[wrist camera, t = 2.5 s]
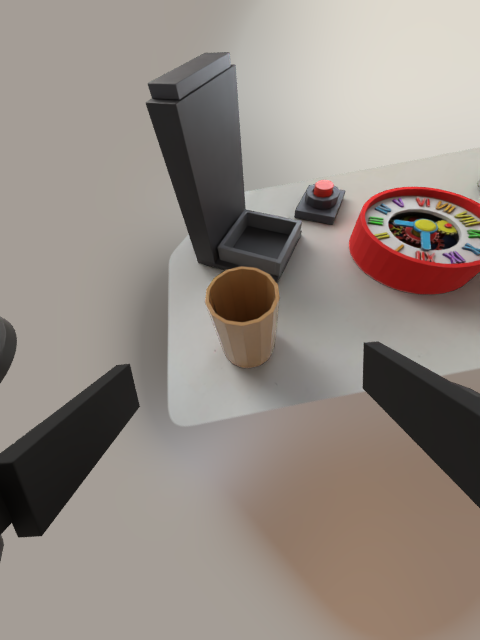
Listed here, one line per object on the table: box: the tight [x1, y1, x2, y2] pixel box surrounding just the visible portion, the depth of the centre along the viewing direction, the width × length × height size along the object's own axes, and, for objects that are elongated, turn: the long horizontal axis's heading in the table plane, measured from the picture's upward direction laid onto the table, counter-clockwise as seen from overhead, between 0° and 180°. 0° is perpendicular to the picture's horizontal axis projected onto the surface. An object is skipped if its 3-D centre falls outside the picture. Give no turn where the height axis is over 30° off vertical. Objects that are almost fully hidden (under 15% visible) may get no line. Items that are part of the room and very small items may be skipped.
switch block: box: [295, 184, 345, 225], centre depth 48 cm, size 10×8×4 cm
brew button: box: [314, 180, 334, 198], centre depth 46 cm, size 4×4×2 cm
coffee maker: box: [146, 52, 302, 283], centre depth 34 cm, size 14×16×24 cm
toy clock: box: [349, 187, 480, 295], centre depth 38 cm, size 20×6×20 cm
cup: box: [205, 266, 280, 368], centre depth 28 cm, size 8×8×12 cm
